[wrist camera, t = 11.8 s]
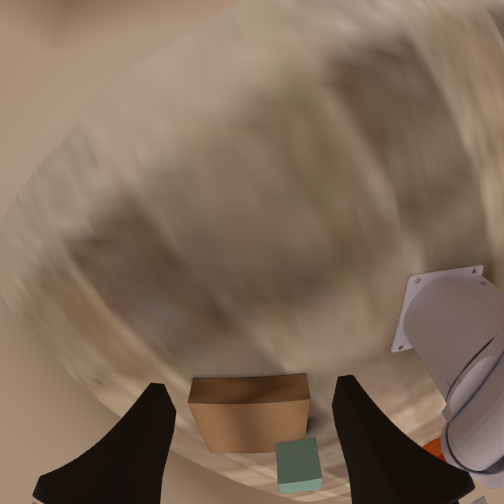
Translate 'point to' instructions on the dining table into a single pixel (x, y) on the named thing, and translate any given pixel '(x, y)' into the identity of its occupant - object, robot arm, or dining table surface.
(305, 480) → the teal block
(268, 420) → the walnut plinth
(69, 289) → the dining table surface
